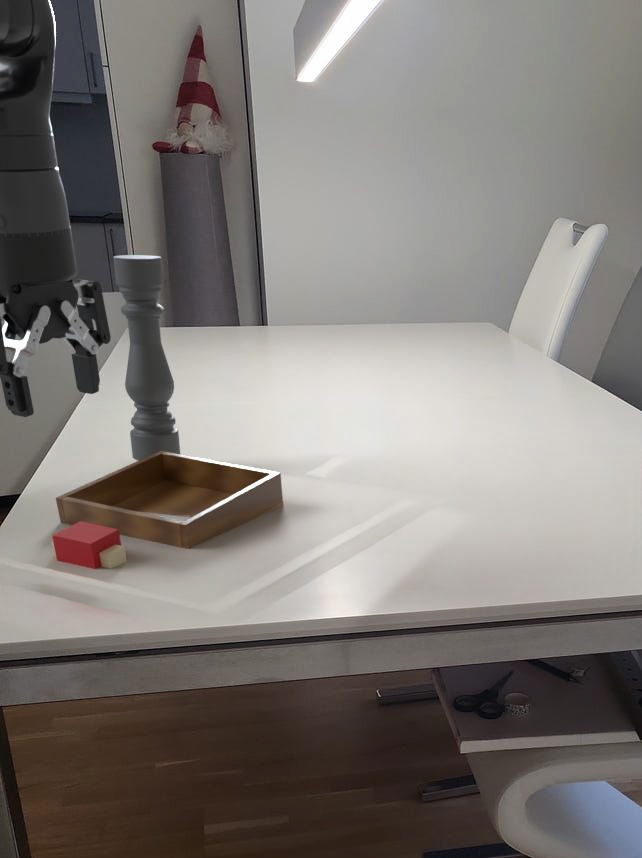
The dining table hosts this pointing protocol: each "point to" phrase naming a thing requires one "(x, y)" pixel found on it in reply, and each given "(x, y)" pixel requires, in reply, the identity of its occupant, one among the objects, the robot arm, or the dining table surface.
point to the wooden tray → (174, 499)
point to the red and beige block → (89, 546)
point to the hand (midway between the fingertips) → (56, 403)
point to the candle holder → (146, 356)
